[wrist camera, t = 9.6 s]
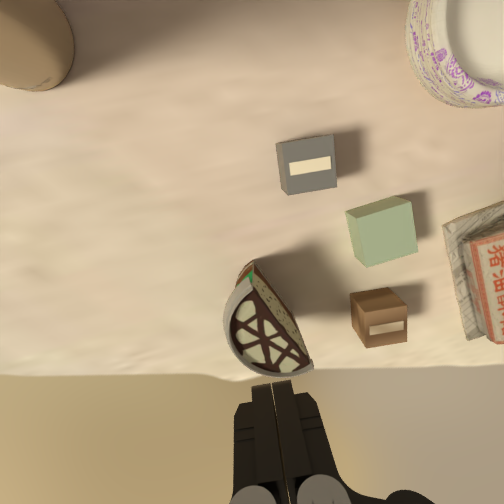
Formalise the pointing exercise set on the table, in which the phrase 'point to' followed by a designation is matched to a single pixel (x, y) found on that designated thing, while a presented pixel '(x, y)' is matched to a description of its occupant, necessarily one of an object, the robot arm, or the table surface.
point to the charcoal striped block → (307, 164)
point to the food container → (264, 328)
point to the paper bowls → (458, 50)
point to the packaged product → (479, 270)
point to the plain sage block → (382, 231)
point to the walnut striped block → (379, 317)
